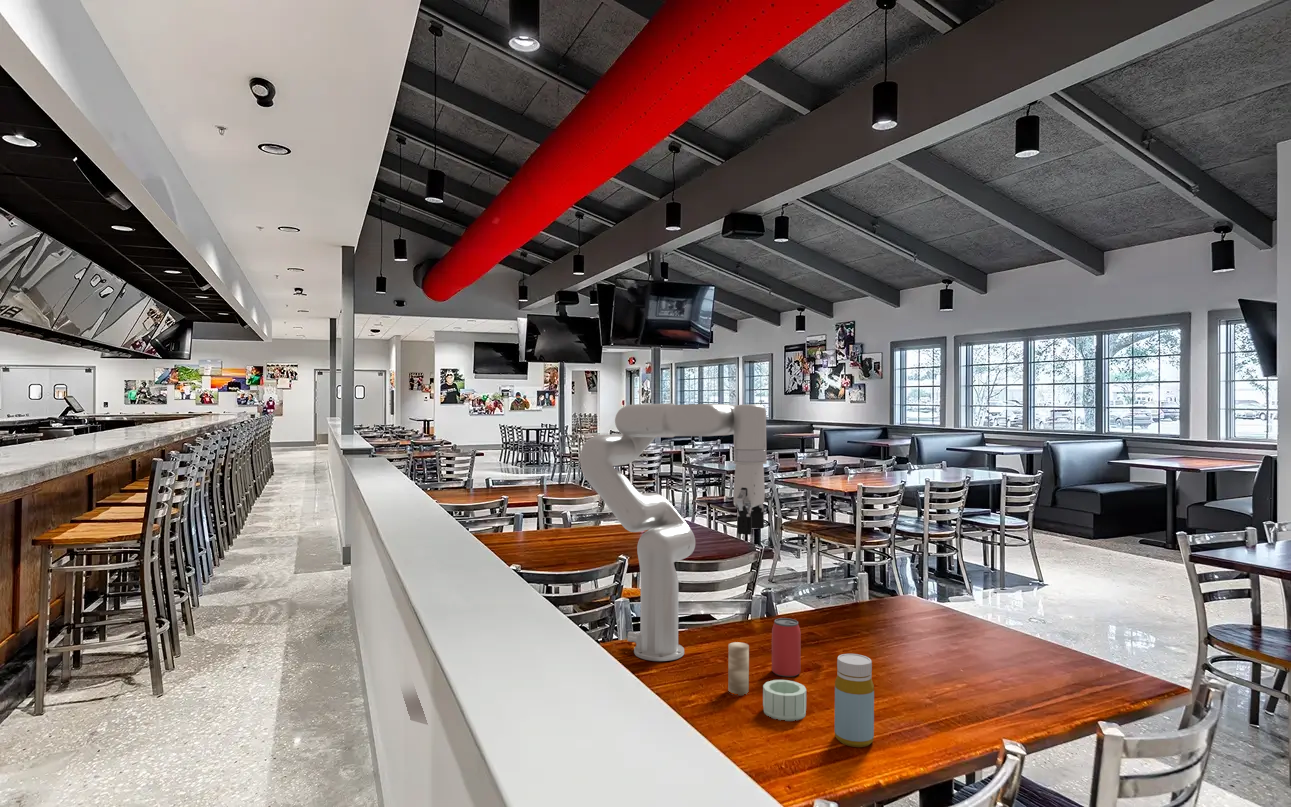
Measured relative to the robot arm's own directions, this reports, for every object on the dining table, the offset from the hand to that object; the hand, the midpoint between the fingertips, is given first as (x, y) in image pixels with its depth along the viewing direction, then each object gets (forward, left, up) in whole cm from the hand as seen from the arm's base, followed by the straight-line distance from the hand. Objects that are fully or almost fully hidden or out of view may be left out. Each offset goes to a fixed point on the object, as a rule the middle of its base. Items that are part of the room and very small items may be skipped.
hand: (751, 531), depth 169 cm
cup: (+13, -17, -33) cm, 40 cm away
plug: (+1, -11, -33) cm, 35 cm away
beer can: (+7, +5, -33) cm, 35 cm away
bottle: (+28, -23, -33) cm, 49 cm away
